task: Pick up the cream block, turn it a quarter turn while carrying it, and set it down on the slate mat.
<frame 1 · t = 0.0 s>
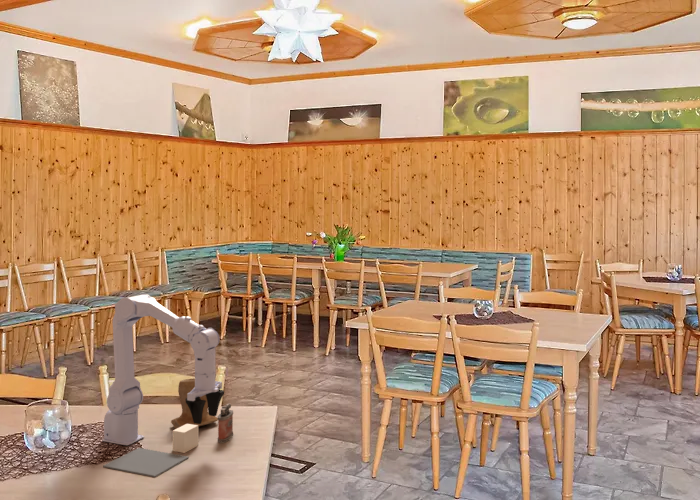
hand: (205, 419, 203), 10 cm above the table, fingers open, 7 cm apart
cream block: (185, 448, 209), on the table
brown bookend: (192, 425, 229), on the table
red patterned tin: (225, 438, 217), on the table
slate mat: (146, 462, 197), on the table
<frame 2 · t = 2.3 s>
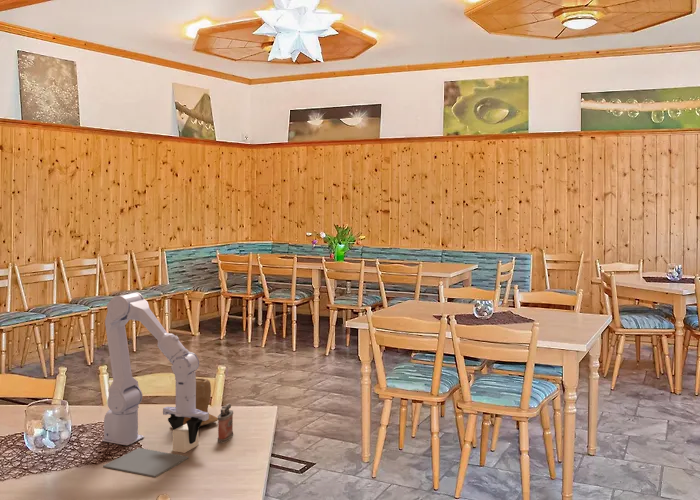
hand: (185, 441, 208), 2 cm above the table, fingers closed on cream block, 4 cm apart
cream block: (185, 447, 208), on the table, touching gripper
everything else where it was.
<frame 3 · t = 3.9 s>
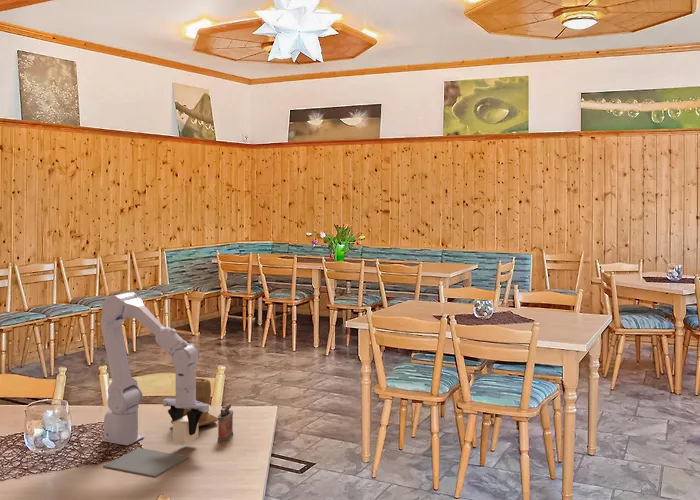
hand: (185, 433, 208), 4 cm above the table, fingers closed on cream block, 4 cm apart
cream block: (185, 439, 208), point 2 cm above the table, touching gripper
everything else where it was.
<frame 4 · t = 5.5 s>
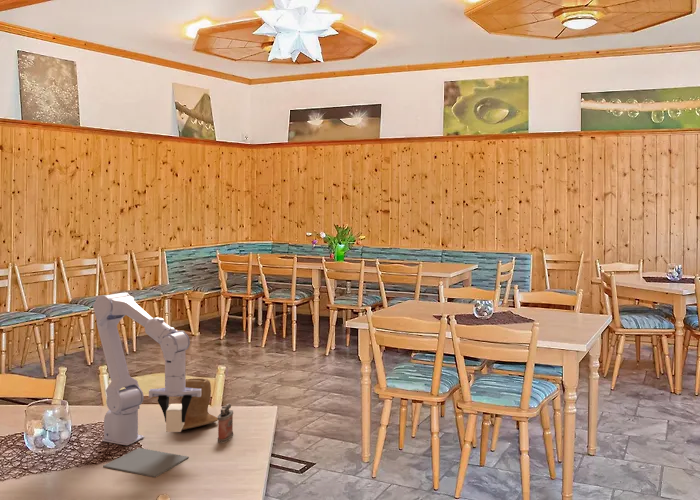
hand: (175, 421, 205), 9 cm above the table, fingers closed on cream block, 4 cm apart
cream block: (175, 427, 205), point 7 cm above the table, touching gripper
everything else where it was.
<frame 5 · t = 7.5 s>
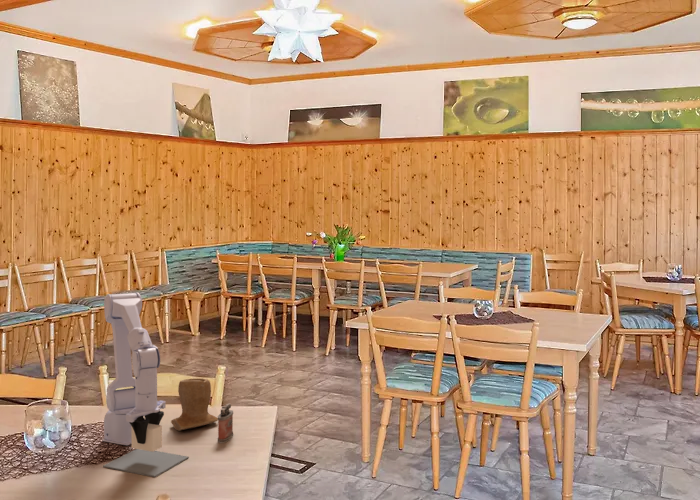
hand: (146, 440, 196), 6 cm above the table, fingers closed on cream block, 4 cm apart
cream block: (146, 447, 196), point 4 cm above the table, touching gripper
everything else where it was.
when the fingers open (3 cm above the table, at t = 8.9 s): cream block drops 1 cm, resting on slate mat.
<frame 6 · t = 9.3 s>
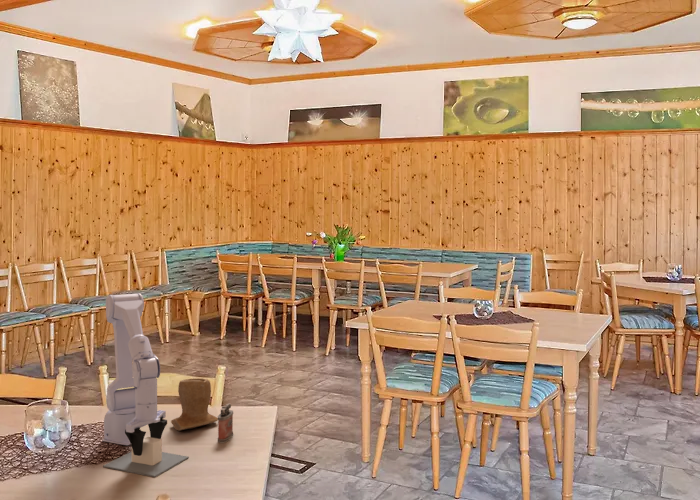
hand: (146, 450, 196), 3 cm above the table, fingers open, 7 cm apart
cream block: (146, 461, 197), resting on slate mat
everything else where it was.
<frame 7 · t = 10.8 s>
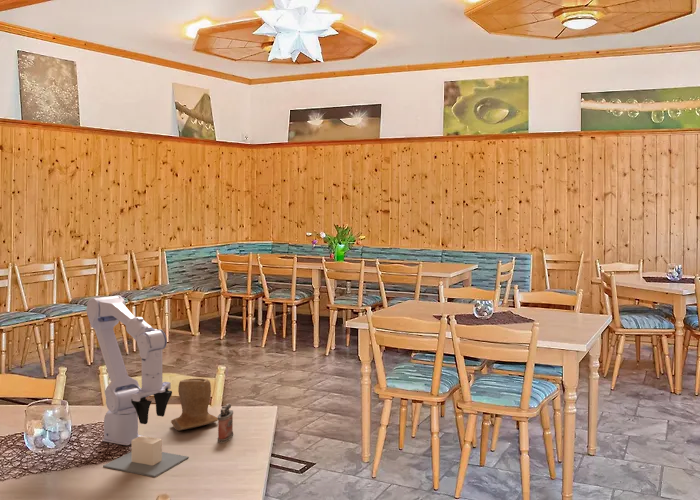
hand: (152, 419, 204), 9 cm above the table, fingers open, 7 cm apart
nothing on the table moved.
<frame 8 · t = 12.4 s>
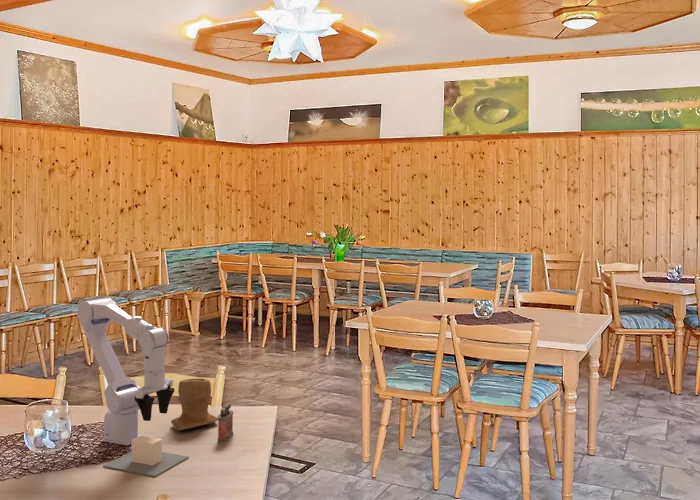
hand: (155, 416, 207), 9 cm above the table, fingers open, 7 cm apart
nothing on the table moved.
at the end: cream block inside the target area on the slate mat (0.0 cm from its centre), point 0.4 cm above the slate mat's base; cream block tilted 0°; the gripper is holding nothing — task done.
